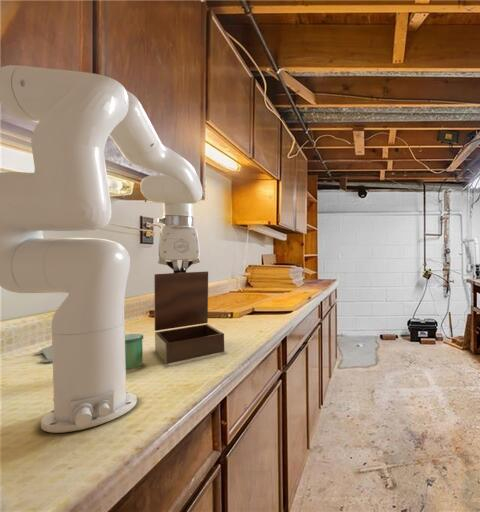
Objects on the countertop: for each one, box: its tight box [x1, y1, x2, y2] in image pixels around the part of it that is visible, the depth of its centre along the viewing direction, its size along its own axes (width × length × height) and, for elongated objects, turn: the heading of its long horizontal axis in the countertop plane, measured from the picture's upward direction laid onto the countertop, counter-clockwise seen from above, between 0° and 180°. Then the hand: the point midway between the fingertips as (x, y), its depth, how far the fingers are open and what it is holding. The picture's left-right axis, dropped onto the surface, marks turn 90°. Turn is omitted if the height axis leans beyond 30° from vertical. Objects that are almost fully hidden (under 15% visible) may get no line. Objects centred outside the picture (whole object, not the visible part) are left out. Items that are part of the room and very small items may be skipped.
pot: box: [125, 333, 144, 371], centre depth 77 cm, size 6×6×8 cm
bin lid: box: [153, 271, 209, 332], centre depth 94 cm, size 16×14×1 cm
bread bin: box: [154, 323, 225, 365], centre depth 89 cm, size 16×14×6 cm
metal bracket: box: [35, 344, 53, 364], centre depth 91 cm, size 14×6×15 cm
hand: (180, 282), depth 96 cm, fingers closed
